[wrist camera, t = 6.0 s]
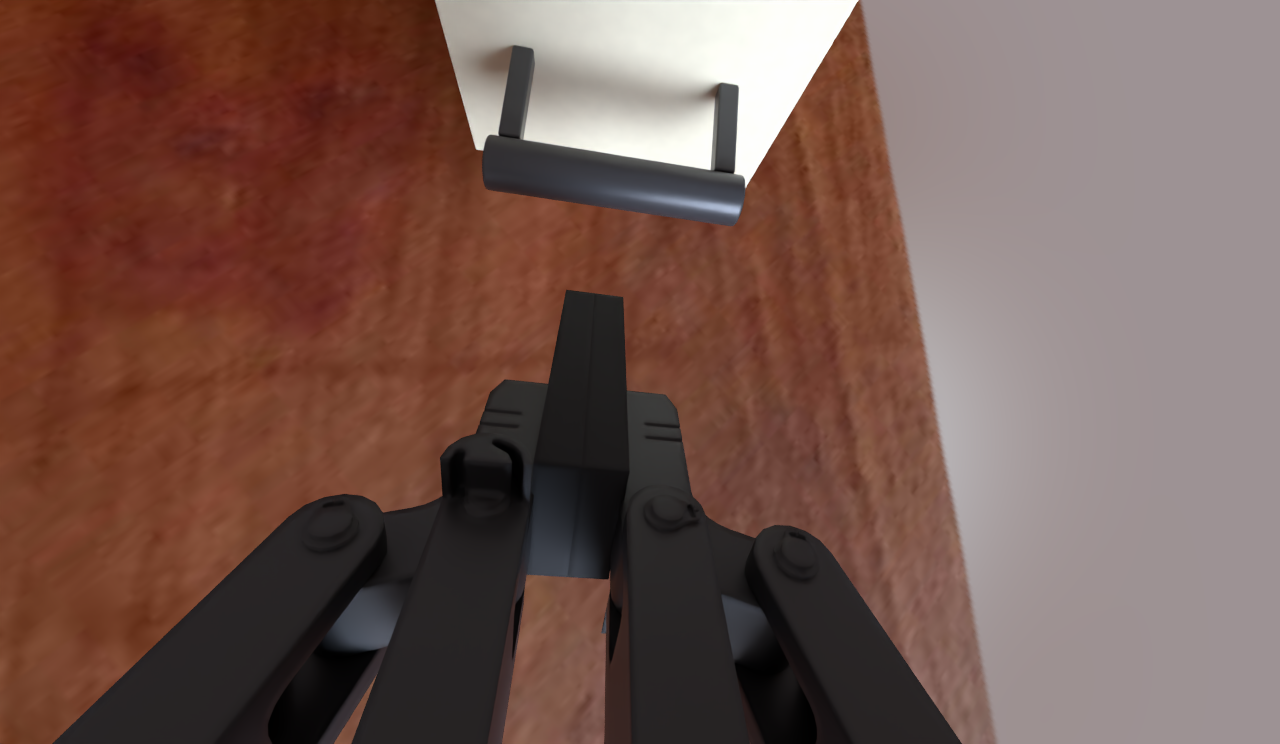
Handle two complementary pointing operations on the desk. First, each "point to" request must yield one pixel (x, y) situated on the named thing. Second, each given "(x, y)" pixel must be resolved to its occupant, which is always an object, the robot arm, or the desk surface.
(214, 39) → the desk surface
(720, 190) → the drawer
